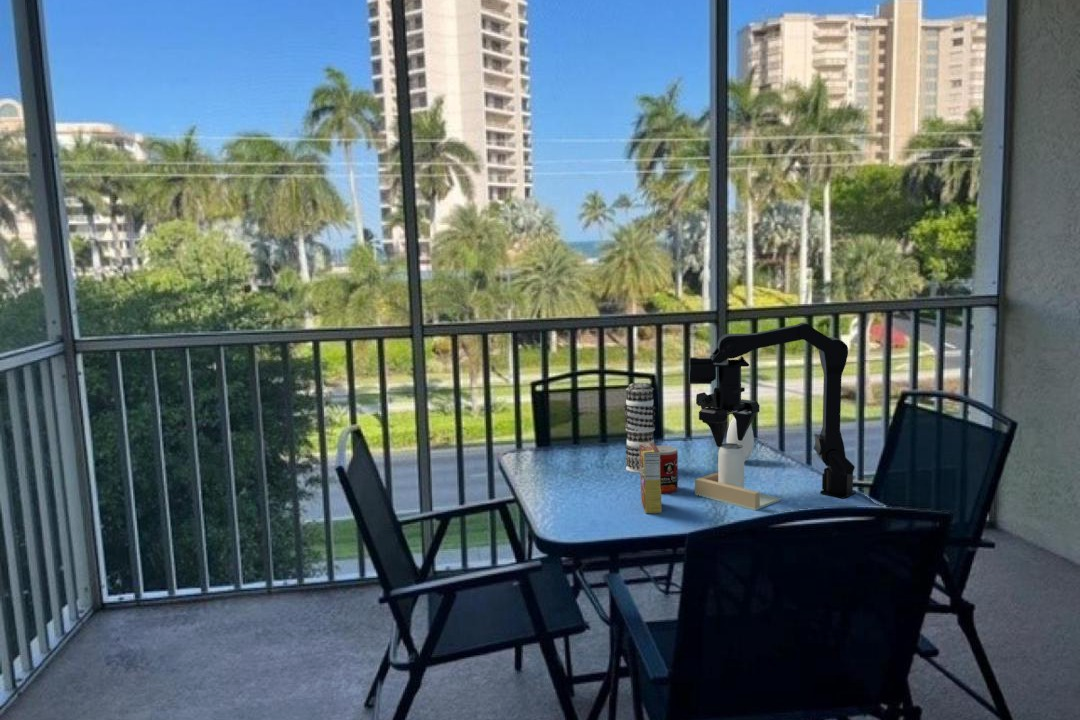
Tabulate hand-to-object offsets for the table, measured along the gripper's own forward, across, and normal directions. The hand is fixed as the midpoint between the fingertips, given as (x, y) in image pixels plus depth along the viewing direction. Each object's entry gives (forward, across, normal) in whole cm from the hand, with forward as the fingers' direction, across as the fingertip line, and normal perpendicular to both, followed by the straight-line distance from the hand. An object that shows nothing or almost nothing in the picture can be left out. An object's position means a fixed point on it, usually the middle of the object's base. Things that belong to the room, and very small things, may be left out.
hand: (729, 443), depth 202 cm
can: (+12, +1, +1) cm, 13 cm away
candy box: (+13, +24, -6) cm, 28 cm away
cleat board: (+13, +2, +4) cm, 14 cm away
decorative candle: (+13, -1, -32) cm, 34 cm away
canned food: (+13, +10, -14) cm, 22 cm away
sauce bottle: (+13, -27, -15) cm, 34 cm away
